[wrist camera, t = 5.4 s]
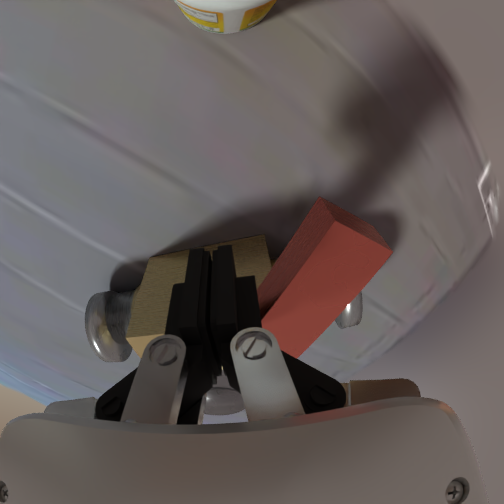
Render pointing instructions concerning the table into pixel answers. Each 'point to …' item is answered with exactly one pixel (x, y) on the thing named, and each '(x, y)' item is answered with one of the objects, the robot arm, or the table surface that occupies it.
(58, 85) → the table surface
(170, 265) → the valve
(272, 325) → the lever
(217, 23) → the supplement bottle
